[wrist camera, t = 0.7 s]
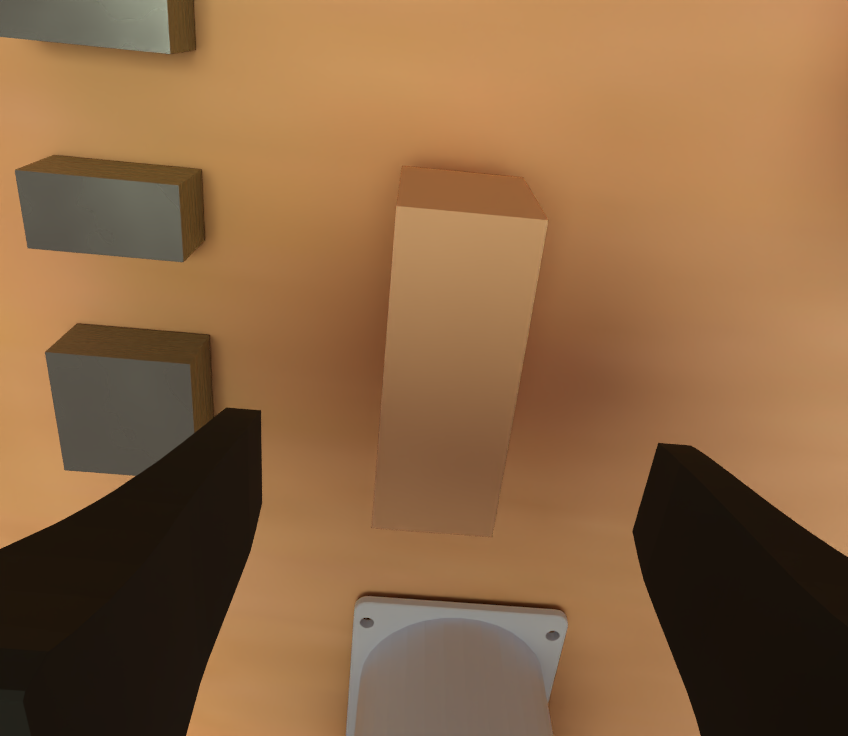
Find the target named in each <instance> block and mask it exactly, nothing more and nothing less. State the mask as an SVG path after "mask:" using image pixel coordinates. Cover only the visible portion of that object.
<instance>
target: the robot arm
mask: <svg viewBox="0 0 848 736" xmlns="http://www.w3.org/2000/svg"><path fill="white" fill-rule="evenodd" d="M261 505H262V459H261V410H249V409H236V408H226V409H224V410H223V411H222V412H220V413H219V414H218V415H216V416H215V417H214V418H213V419H211V420H210V421H209V422H207V423H206V424H205V425H204V426H202V427H201V428H200V429H199V430H197V431H196V432H195V433H194V434H192V435H191V436H190V437H189V438H187V439H186V440H185V441H184V442H182V443H181V444H180V445H178V446H177V447H176V448H174V449H173V450H172V451H170V452H169V453H168V454H167V455H165V456H164V457H163V458H161V459H160V460H159V461H157V462H156V463H154V464H153V465H151V466H150V467H149V468H147V469H146V470H144V471H143V472H141V473H140V474H138V475H137V476H135V477H134V478H132V479H131V480H129V481H128V482H126V483H125V484H123V485H122V486H120V487H119V488H118V489H116V490H114V491H113V492H111V493H110V494H108V495H106V496H105V497H103V498H101V499H100V500H98V501H96V502H94V503H93V504H91V505H89V506H87V507H86V508H84V509H82V510H80V511H78V512H76V513H75V514H73V515H71V516H69V517H67V518H65V519H64V520H62V521H60V522H58V523H56V524H54V525H52V526H49V527H47V528H45V529H43V530H41V531H39V532H36V533H34V534H32V535H30V536H28V537H25V538H23V539H21V540H19V541H17V542H15V543H12V544H10V545H8V546H6V547H4V548H1V549H0V736H186V733H187V730H188V726H189V723H190V719H191V715H192V712H193V708H194V704H195V701H196V697H197V694H198V690H199V686H200V683H201V680H202V677H203V674H204V671H205V668H206V665H207V662H208V659H209V657H210V654H211V652H212V649H213V646H214V644H215V641H216V639H217V636H218V634H219V631H220V629H221V626H222V623H223V621H224V618H225V616H226V613H227V611H228V608H229V606H230V603H231V600H232V598H233V595H234V593H235V590H236V588H237V585H238V582H239V580H240V577H241V575H242V572H243V569H244V567H245V564H246V562H247V559H248V556H249V553H250V551H251V547H252V543H253V539H254V535H255V531H256V527H257V522H258V518H259V514H260V510H261ZM633 536H634V541H635V545H636V550H637V555H638V559H639V563H640V567H641V571H642V575H643V579H644V582H645V585H646V588H647V591H648V593H649V596H650V598H651V601H652V604H653V606H654V609H655V612H656V614H657V617H658V619H659V622H660V624H661V627H662V629H663V632H664V635H665V637H666V640H667V642H668V645H669V647H670V650H671V652H672V655H673V657H674V660H675V662H676V665H677V668H678V670H679V673H680V675H681V678H682V680H683V683H684V685H685V688H686V690H687V693H688V696H689V699H690V702H691V705H692V708H693V711H694V714H695V717H696V720H697V724H698V727H699V731H700V735H701V736H848V557H847V556H845V555H843V554H842V553H840V552H839V551H837V550H836V549H834V548H833V547H831V546H830V545H828V544H827V543H825V542H824V541H822V540H821V539H819V538H818V537H816V536H815V535H813V534H812V533H810V532H809V531H807V530H806V529H805V528H803V527H802V526H800V525H799V524H797V523H796V522H795V521H793V520H792V519H791V518H789V517H788V516H786V515H785V514H784V513H782V512H781V511H780V510H778V509H777V508H775V507H774V506H773V505H771V504H770V503H769V502H767V501H766V500H765V499H763V498H762V497H761V496H759V495H758V494H757V493H755V492H754V491H753V490H752V489H750V488H749V487H748V486H746V485H745V484H744V483H742V482H741V481H740V480H738V479H737V478H736V477H735V476H733V475H732V474H731V473H729V472H728V471H727V470H725V469H724V468H723V467H721V466H720V465H719V464H717V463H716V462H715V461H713V460H712V459H711V458H709V457H708V456H706V455H705V454H703V453H702V452H700V451H699V450H697V449H696V448H694V447H693V446H689V445H676V444H664V443H658V446H657V449H656V453H655V456H654V459H653V463H652V466H651V470H650V473H649V477H648V480H647V483H646V487H645V490H644V494H643V497H642V501H641V504H640V507H639V511H638V514H637V518H636V521H635V524H634V528H633ZM363 618H370V619H371V620H366V619H363ZM567 628H568V621H567V616H566V615H565V613H564V612H562V611H561V610H556V609H543V608H529V607H515V606H501V605H487V604H473V603H459V602H445V601H431V600H417V599H403V598H389V597H375V596H364V597H361V598H359V599H358V600H357V601H356V603H355V609H354V622H353V636H352V651H351V666H350V681H349V696H348V711H347V726H346V736H553V731H552V725H551V720H550V714H549V708H548V702H549V698H550V694H551V690H552V686H553V682H554V678H555V674H556V671H557V667H558V663H559V659H560V655H561V651H562V647H563V643H564V640H565V636H566V632H567ZM550 631H555V632H551V633H549V632H550Z"/></svg>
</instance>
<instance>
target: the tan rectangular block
mask: <svg viewBox="0 0 848 736" xmlns="http://www.w3.org/2000/svg"><path fill="white" fill-rule="evenodd" d="M547 226H548V219H547V217H546V215H545V214H544V212H543V210H542V209H541V207H540V205H539V203H538V202H537V200H536V198H535V197H534V195H533V193H532V192H531V190H530V188H529V186H528V185H527V183H526V181H525V180H524V178H523V177H514V176H503V175H493V174H483V173H472V172H462V171H452V170H441V169H431V168H421V167H410V166H402V171H401V178H400V184H399V191H398V198H397V204H396V216H395V229H394V242H393V255H392V268H391V281H390V294H389V307H388V320H387V333H386V346H385V359H384V372H383V385H382V398H381V411H380V424H379V437H378V450H377V463H376V476H375V489H374V502H373V516H372V528H376V529H389V530H402V531H415V532H429V533H442V534H455V535H469V536H482V537H493V531H494V525H495V520H496V514H497V508H498V503H499V497H500V491H501V486H502V480H503V474H504V469H505V463H506V457H507V452H508V446H509V440H510V435H511V429H512V423H513V418H514V412H515V406H516V401H517V395H518V390H519V384H520V378H521V373H522V367H523V361H524V356H525V350H526V344H527V339H528V333H529V327H530V322H531V316H532V310H533V305H534V299H535V293H536V288H537V282H538V276H539V271H540V265H541V259H542V254H543V248H544V243H545V237H546V231H547Z"/></svg>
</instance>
